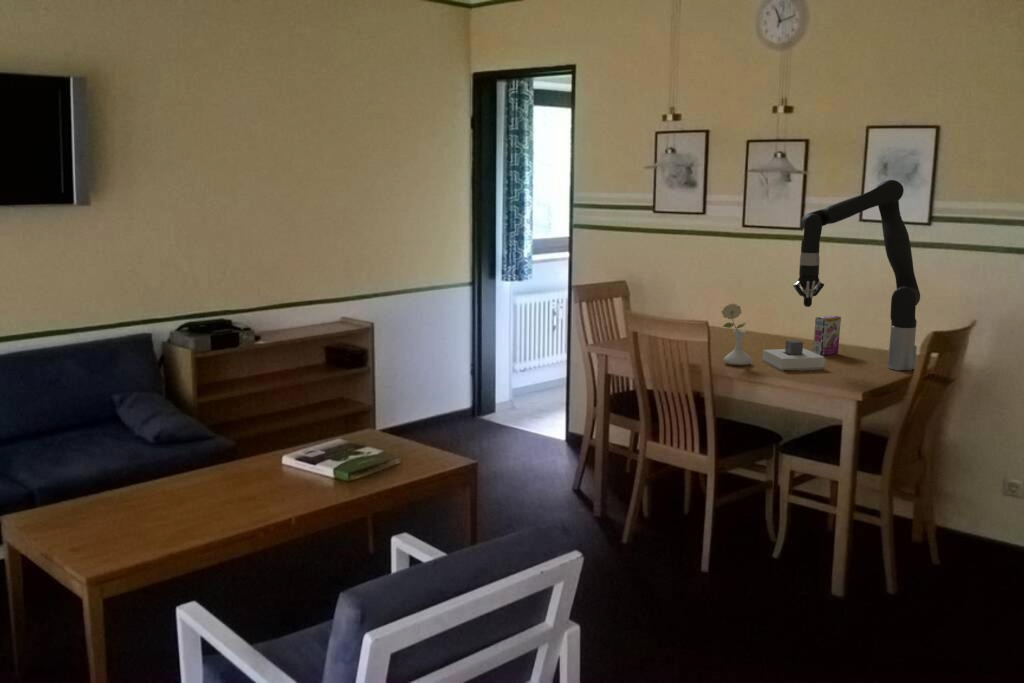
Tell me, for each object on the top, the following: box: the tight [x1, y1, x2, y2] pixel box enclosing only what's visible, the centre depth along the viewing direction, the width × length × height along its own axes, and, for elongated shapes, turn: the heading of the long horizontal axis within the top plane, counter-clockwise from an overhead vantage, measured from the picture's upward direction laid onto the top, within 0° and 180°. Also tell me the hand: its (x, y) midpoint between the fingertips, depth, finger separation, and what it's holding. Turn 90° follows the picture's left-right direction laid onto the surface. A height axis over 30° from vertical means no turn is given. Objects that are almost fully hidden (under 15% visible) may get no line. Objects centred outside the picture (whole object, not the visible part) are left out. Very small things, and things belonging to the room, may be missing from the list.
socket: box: [762, 348, 826, 372], centre depth 380 cm, size 18×18×5 cm
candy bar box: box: [812, 314, 842, 357], centre depth 401 cm, size 11×5×16 cm, turn 123°
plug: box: [784, 339, 804, 355], centre depth 380 cm, size 5×5×9 cm
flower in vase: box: [721, 303, 753, 366], centre depth 381 cm, size 13×11×25 cm
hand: (807, 306), depth 379 cm, fingers closed
